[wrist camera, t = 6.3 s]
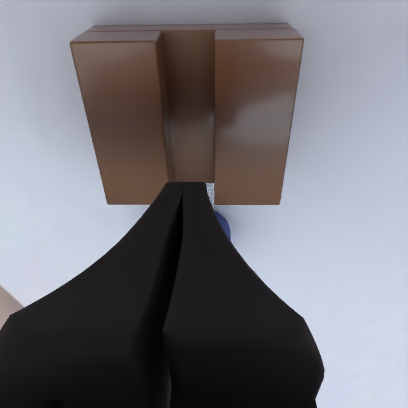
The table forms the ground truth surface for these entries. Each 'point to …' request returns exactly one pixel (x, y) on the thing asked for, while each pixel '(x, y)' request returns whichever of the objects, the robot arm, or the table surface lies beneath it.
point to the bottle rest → (190, 107)
